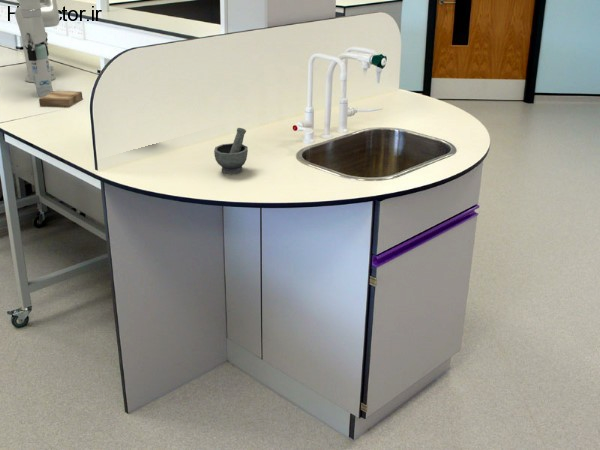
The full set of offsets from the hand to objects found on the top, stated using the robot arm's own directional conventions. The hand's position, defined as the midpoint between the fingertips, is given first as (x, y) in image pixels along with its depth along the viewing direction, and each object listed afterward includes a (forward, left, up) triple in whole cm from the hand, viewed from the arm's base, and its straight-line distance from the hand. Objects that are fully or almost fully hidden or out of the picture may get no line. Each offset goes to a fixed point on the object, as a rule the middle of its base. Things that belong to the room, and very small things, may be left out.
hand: (39, 58), depth 283 cm
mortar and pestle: (+74, +97, -15) cm, 123 cm away
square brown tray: (+10, +12, -15) cm, 21 cm away
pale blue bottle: (0, 0, -15) cm, 15 cm away
